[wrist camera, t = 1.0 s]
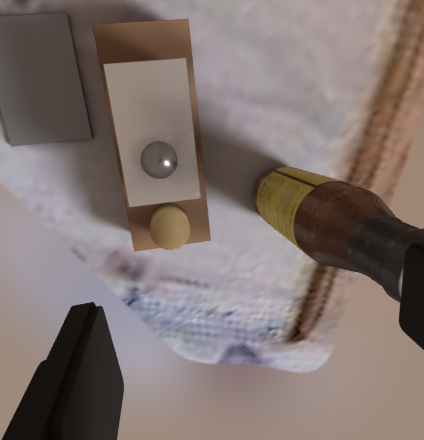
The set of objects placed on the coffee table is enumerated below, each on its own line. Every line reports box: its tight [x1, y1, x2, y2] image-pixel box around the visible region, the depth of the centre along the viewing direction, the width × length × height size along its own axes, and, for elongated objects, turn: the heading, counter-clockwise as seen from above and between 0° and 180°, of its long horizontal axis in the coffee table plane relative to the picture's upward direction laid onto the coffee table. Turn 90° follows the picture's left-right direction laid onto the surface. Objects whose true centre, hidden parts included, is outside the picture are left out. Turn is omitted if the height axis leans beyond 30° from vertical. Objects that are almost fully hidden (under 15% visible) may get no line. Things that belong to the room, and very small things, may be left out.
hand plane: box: [93, 19, 211, 251], centre depth 27 cm, size 18×7×8 cm, turn 5°
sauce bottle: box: [254, 167, 424, 302], centre depth 25 cm, size 6×6×20 cm
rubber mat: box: [0, 13, 93, 146], centre depth 27 cm, size 10×7×1 cm
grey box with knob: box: [104, 58, 201, 207], centre depth 23 cm, size 9×5×6 cm, turn 5°
